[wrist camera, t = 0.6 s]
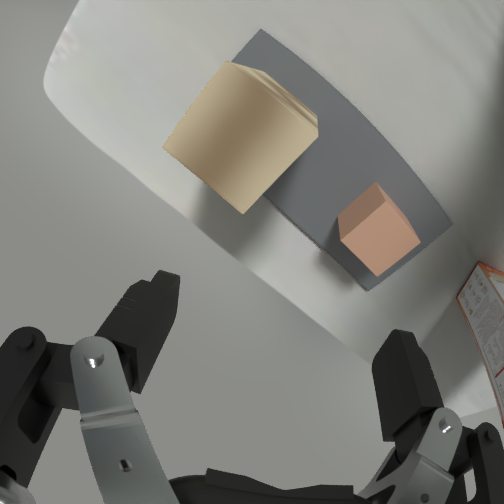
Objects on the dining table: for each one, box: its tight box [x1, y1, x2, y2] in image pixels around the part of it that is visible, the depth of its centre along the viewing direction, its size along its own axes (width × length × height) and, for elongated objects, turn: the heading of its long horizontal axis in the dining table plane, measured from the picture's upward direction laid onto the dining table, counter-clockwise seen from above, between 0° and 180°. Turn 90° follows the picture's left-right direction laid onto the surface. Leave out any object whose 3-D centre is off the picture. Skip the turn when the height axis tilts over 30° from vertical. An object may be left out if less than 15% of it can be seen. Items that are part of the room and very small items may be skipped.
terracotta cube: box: [338, 182, 421, 277], centre depth 26 cm, size 5×5×5 cm
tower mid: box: [162, 61, 318, 214], centre depth 17 cm, size 6×6×6 cm
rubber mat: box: [231, 29, 452, 291], centre depth 27 cm, size 26×12×1 cm, turn 50°
